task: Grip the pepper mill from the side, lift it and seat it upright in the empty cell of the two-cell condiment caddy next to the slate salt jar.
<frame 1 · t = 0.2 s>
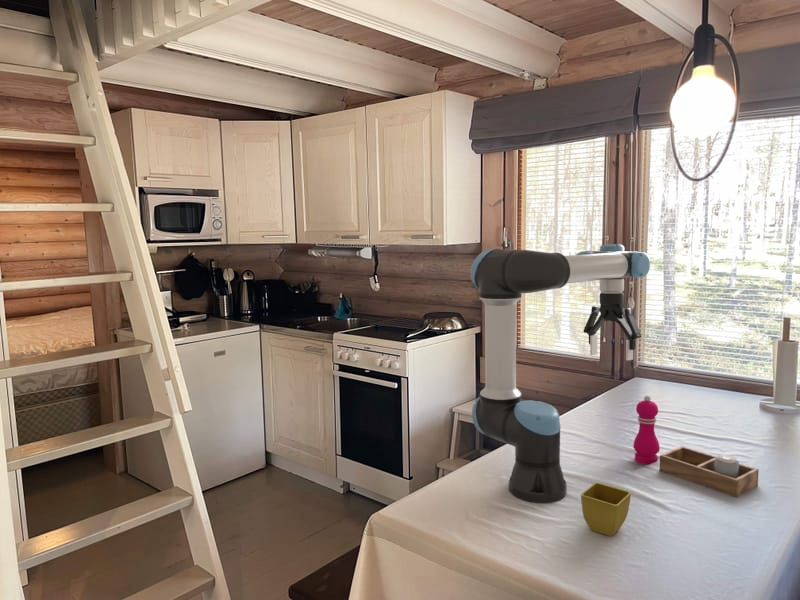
hand: (611, 357, 194), 27 cm above the table, tool pointing down, fingers open, 13 cm apart
salt jar: (725, 484, 158), point 1 cm above the table, touching caddy
pepper mill: (646, 461, 178), on the table
caddy: (706, 481, 163), on the table
flower pot: (605, 530, 139), on the table
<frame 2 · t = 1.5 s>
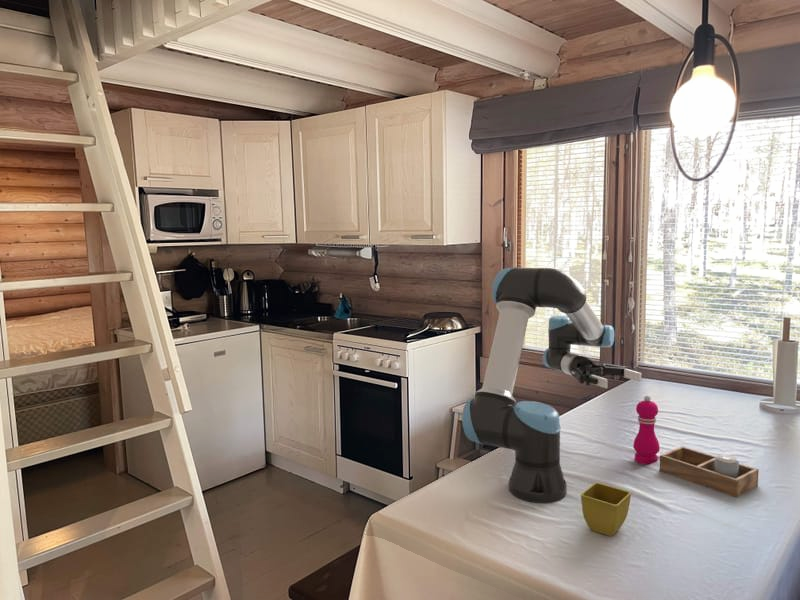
hand: (623, 380, 183), 22 cm above the table, tool horizontal, fingers open, 13 cm apart
nothing on the table moved.
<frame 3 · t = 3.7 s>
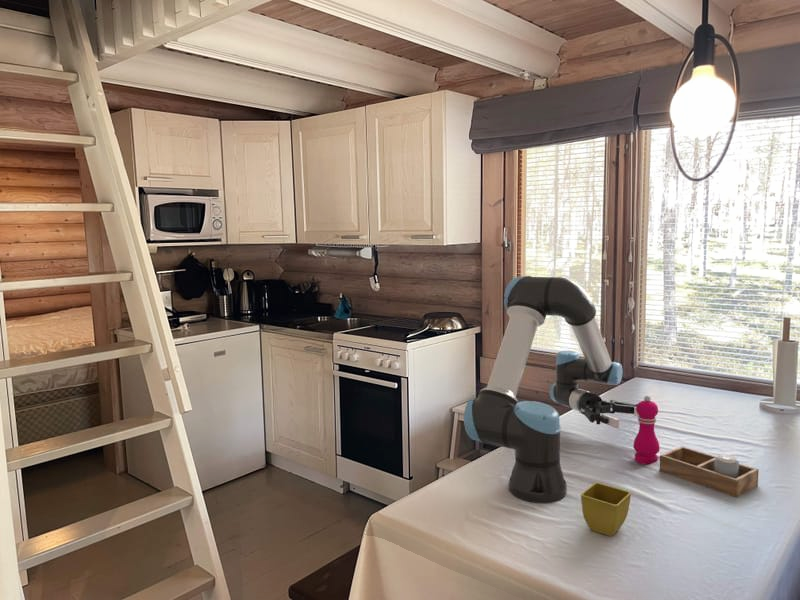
hand: (634, 420, 181), 11 cm above the table, tool horizontal, fingers open, 13 cm apart
nothing on the table moved.
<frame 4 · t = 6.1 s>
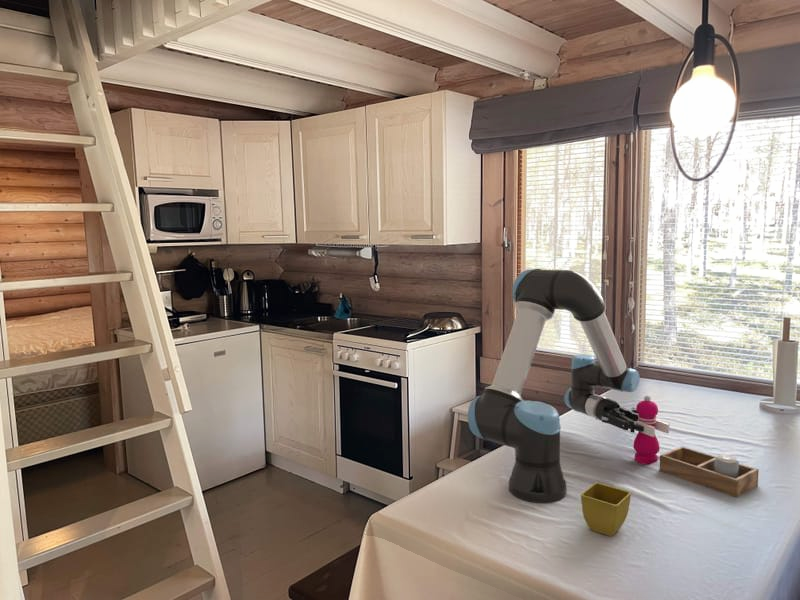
hand: (661, 430, 172), 11 cm above the table, tool horizontal, fingers closed on pepper mill, 5 cm apart
pepper mill: (646, 461, 178), on the table, touching gripper
everything else where it was.
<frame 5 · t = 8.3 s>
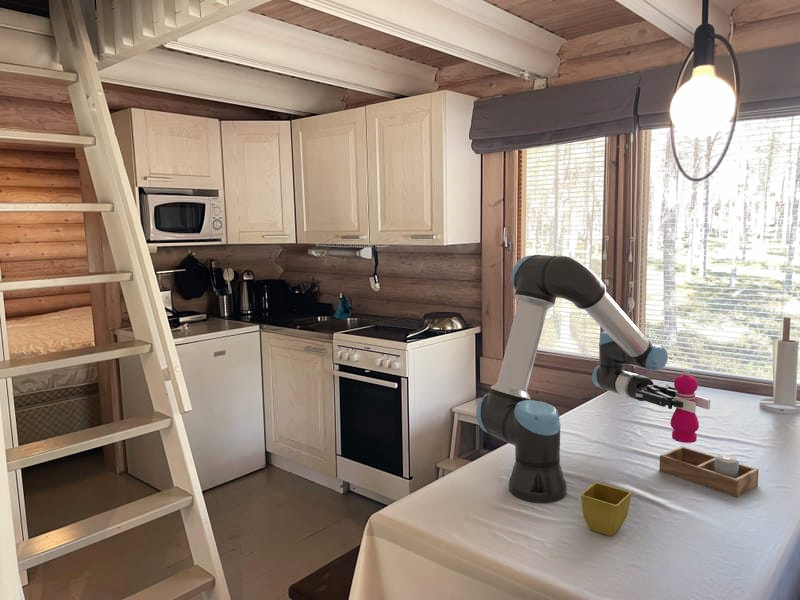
hand: (701, 406, 161), 21 cm above the table, tool horizontal, fingers closed on pepper mill, 5 cm apart
pepper mill: (684, 439, 168), point 10 cm above the table, touching gripper
everything else where it was.
when the fingers open (13 cm above the table, at t = 10.6 s): pepper mill drops 1 cm, resting on caddy.
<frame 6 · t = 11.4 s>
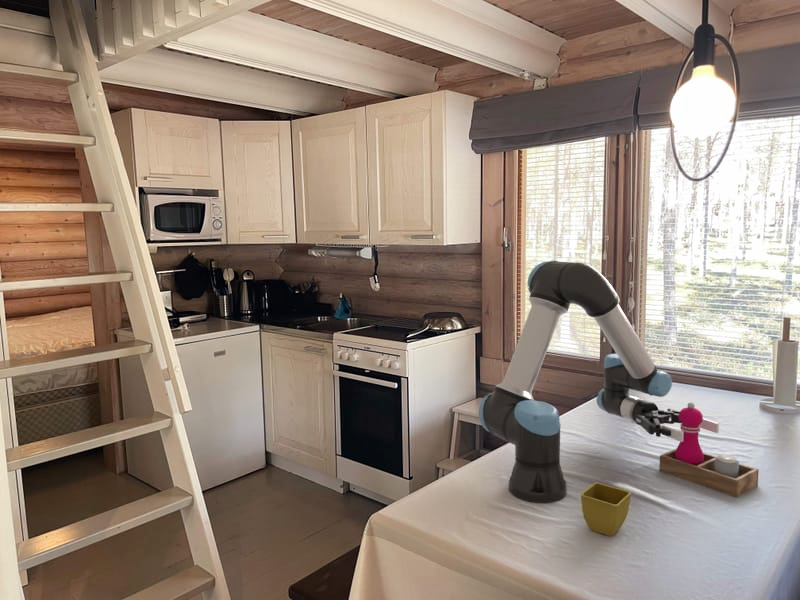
hand: (700, 432, 162), 13 cm above the table, tool horizontal, fingers open, 13 cm apart
pepper mill: (688, 472, 167), point 1 cm above the table, touching caddy
everything else where it was.
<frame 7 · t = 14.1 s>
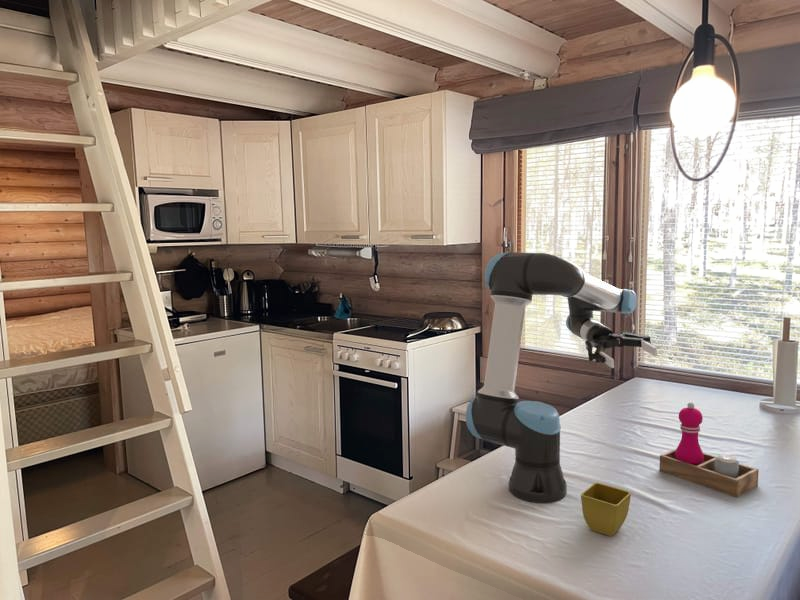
hand: (634, 357, 172), 32 cm above the table, tool horizontal, fingers open, 13 cm apart
nothing on the table moved.
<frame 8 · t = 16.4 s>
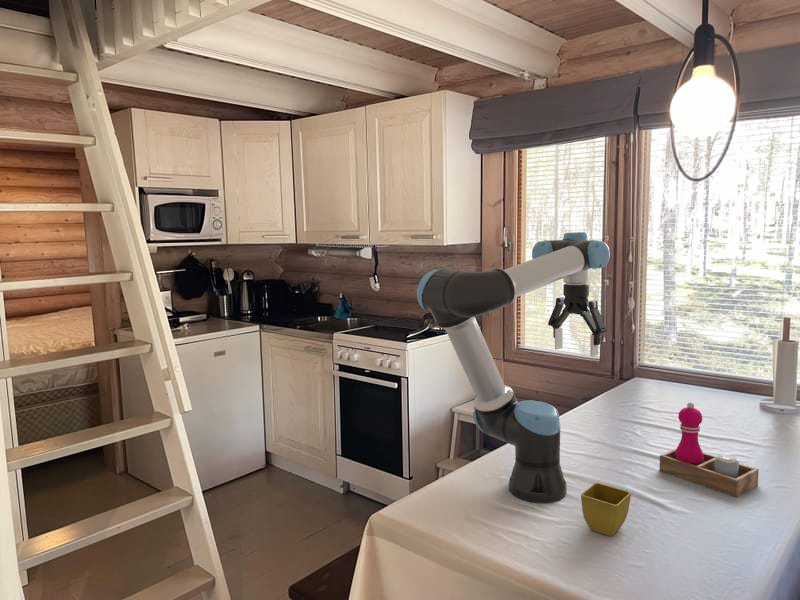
hand: (575, 352, 183), 32 cm above the table, tool pointing down, fingers open, 13 cm apart
nothing on the table moved.
at the end: pepper mill 0.0 cm from the target spot on the caddy, point 0.8 cm above the caddy's base; pepper mill tilted 0°; the gripper is holding nothing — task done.
